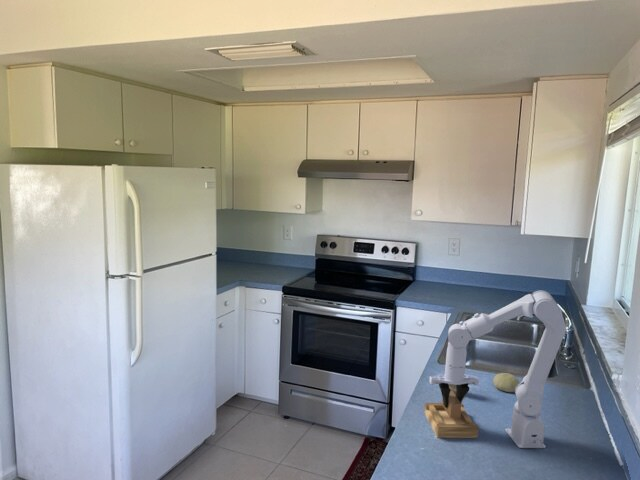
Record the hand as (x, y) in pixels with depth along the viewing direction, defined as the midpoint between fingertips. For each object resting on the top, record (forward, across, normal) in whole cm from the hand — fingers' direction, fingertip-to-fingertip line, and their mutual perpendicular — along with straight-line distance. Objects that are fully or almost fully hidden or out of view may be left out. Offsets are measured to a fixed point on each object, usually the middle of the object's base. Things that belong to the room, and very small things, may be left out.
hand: (451, 406), depth 151 cm
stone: (+6, -8, -21) cm, 23 cm away
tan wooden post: (+2, 0, 0) cm, 2 cm away
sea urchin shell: (+7, -29, -25) cm, 39 cm away
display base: (+6, 0, 0) cm, 6 cm away
